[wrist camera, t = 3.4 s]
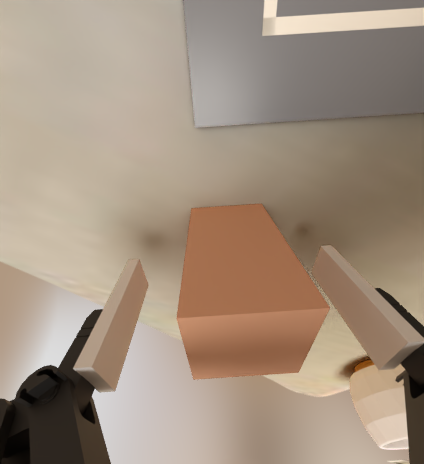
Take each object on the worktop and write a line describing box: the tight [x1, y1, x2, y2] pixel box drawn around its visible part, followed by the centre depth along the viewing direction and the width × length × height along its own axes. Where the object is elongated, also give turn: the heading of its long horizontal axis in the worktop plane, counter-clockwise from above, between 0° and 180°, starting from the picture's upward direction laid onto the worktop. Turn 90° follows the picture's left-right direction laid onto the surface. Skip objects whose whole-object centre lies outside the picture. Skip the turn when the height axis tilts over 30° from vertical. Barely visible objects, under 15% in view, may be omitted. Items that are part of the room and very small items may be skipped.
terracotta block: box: [177, 204, 330, 380], centre depth 13 cm, size 6×6×10 cm
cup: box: [350, 359, 409, 450], centre depth 30 cm, size 12×12×10 cm
